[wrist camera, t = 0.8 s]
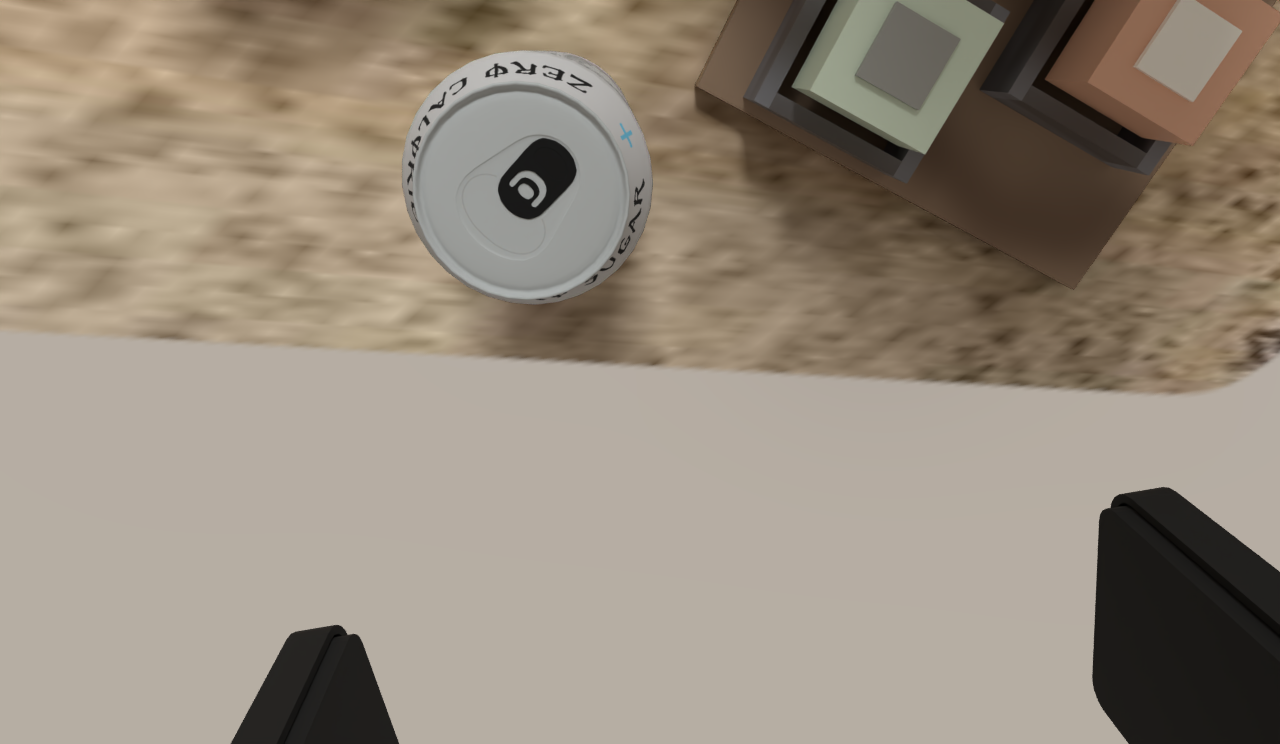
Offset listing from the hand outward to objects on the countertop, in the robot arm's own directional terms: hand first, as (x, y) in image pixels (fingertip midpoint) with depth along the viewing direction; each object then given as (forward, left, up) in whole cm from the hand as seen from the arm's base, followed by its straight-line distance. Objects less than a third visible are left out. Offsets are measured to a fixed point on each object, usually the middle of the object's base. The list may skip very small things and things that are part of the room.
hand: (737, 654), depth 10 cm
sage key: (-10, +4, -22) cm, 25 cm away
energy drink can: (-2, -5, -26) cm, 26 cm away
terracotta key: (-14, +12, -22) cm, 29 cm away
